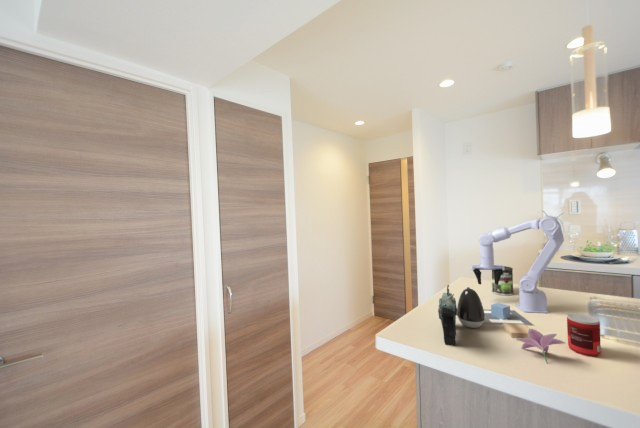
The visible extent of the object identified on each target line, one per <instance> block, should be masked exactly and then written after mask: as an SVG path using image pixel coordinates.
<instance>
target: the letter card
mask: <svg viewBox="0 0 640 428" xmlns="http://www.w3.org/2000/svg"><path fill="white" fill-rule="evenodd" d="M483 309H484V314H485V320H484V322H483V324H487V325H488V324H489V325H503V323H508V324H523V325H527V326H530V327H531V326H536V325H534V324H533V323H532V322H530V321H529V320H528V319H527V318H525V317H524V316H522V315H521V314H520V313H519V312H517V311H516V310H512V309H510V318H508V319H505V320H502V319H499V318H496V317H493V316H491V309H485V308H483Z"/></svg>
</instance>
